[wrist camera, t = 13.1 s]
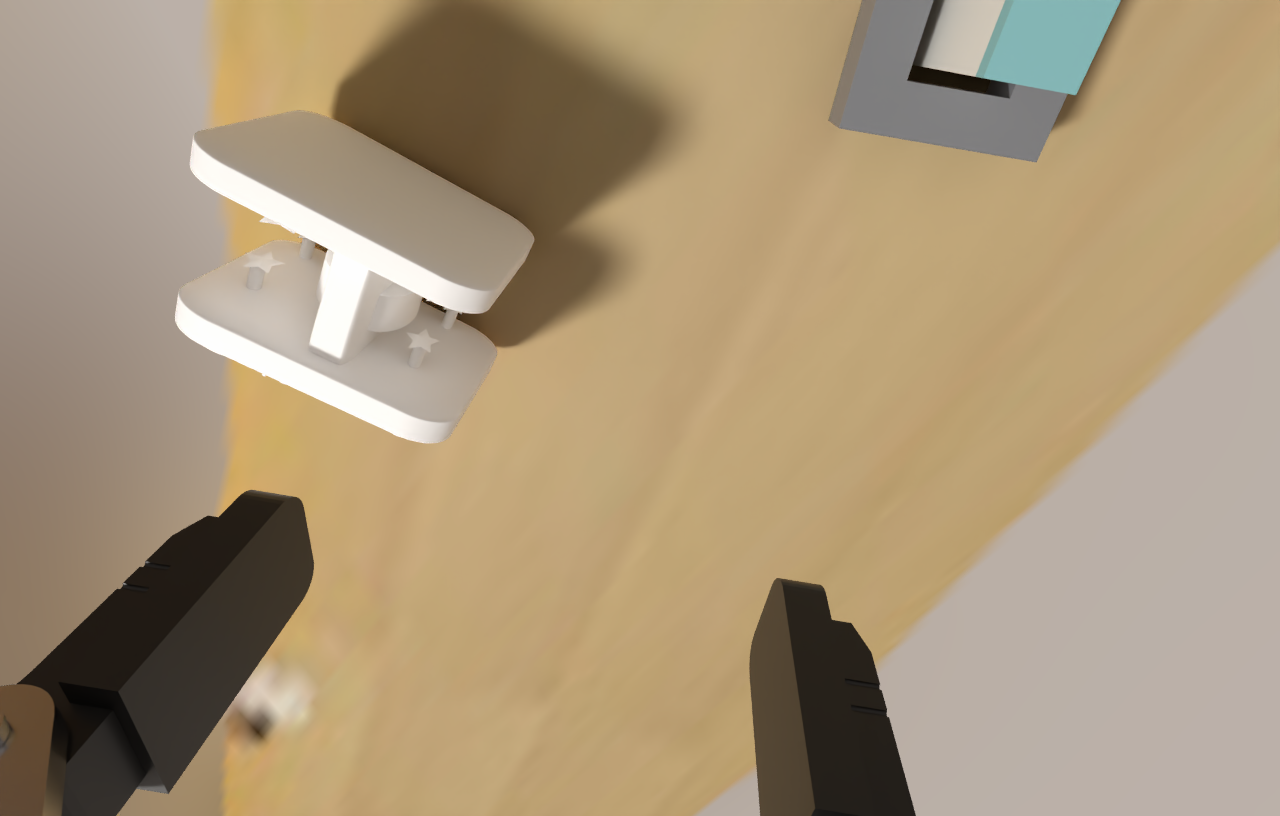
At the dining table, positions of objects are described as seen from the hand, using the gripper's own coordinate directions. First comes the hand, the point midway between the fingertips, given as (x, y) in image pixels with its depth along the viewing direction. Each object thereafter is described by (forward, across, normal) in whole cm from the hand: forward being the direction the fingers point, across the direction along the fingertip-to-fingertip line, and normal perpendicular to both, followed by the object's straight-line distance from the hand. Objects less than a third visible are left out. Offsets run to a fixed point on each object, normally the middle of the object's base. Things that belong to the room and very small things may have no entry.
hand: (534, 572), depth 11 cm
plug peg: (+30, -14, -10) cm, 35 cm away
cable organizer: (+30, +14, +6) cm, 34 cm away
